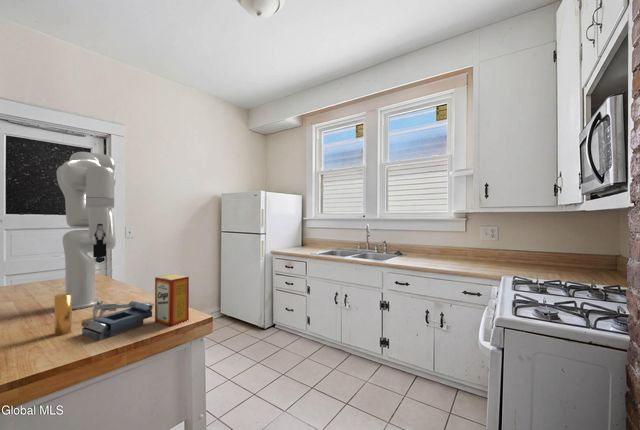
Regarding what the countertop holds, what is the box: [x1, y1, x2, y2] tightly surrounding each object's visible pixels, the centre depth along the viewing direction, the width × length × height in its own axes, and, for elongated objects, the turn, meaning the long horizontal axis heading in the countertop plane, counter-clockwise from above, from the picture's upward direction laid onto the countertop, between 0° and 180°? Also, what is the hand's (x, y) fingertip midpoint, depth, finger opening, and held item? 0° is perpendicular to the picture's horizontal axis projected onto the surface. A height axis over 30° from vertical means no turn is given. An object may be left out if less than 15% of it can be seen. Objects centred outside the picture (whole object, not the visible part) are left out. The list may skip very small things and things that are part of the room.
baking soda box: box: [154, 273, 190, 328], centre depth 99 cm, size 10×6×16 cm
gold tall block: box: [53, 293, 73, 337], centre depth 89 cm, size 4×4×12 cm
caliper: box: [92, 300, 155, 319], centre depth 109 cm, size 20×1×6 cm, turn 142°
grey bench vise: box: [81, 300, 154, 341], centre depth 93 cm, size 10×16×6 cm, turn 154°
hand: (100, 255), depth 92 cm, fingers open, 9 cm apart
